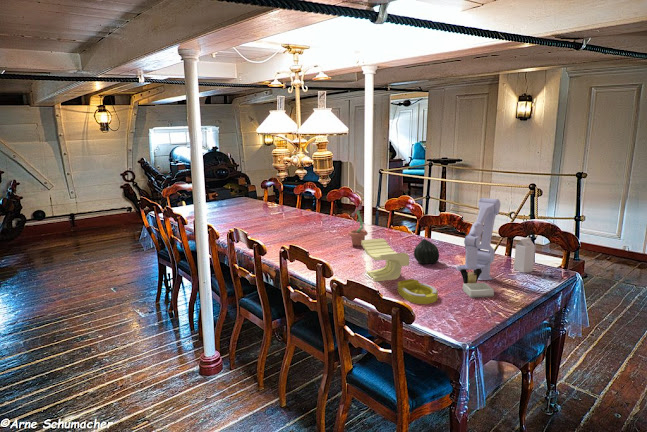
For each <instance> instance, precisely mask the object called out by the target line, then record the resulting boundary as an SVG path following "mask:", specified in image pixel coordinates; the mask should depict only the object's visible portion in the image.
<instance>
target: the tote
mask: <svg viewBox="0 0 647 432" xmlns="http://www.w3.org/2000/svg"><path fill="white" fill-rule="evenodd" d="M462 291H463V292H464V293H465V294H466V295H467V296H468V297H469V298H489V297H491V298H492V297H495V289H494V288H492V287H491V285H489V284H487V283H486V282H477V283H468V284H464V283H462Z"/></svg>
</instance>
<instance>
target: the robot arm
mask: <svg viewBox="0 0 647 432" xmlns="http://www.w3.org/2000/svg"><path fill="white" fill-rule="evenodd" d="M477 203H478V210H479V211H478V214H477V218H476V221H475V222H473V223H472V225H471V227H470V229H469V231H468V232H469V233H468V234H467V235H466V236H465V237H464V242H463V243H464V249H465V262H464V263H465V264H463V265H462V264H461V265H456V271H457V272H460V274H461V277H462V281H463V284H464V283H465V284H466V283H467V274H468V272H469V271H471V270H472V272H474V273H475V274H476V275H477V277H476V283H478V281H486V280H487V281H488V280H490V281H491V280H493V277H492V276H491V275H490V273H491V264H492V263H494V261H495V258H496V257H495V249H494V247H492V245H491V242H492V236H493V231H494V225H495V220H496V216H497V215H499V213H500V209H501V201H500V199H499V198H487V197H480V198H479V199H478V202H477Z"/></svg>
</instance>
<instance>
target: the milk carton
mask: <svg viewBox="0 0 647 432" xmlns="http://www.w3.org/2000/svg"><path fill="white" fill-rule="evenodd" d="M514 248H515V250H514V251H515V252H514V262H513V270H515V271H517V272H518V271H519V272H521V273H523V274H525V273H529V272H530V273H531V272H533V271H534V263H535V262H534V261H535V251H536V245H535V244H534V243H533V241H532V238H531V237H526V238H521V239H520V241H519V242H517V243H516V244H515V247H514Z"/></svg>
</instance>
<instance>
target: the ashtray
mask: <svg viewBox="0 0 647 432" xmlns="http://www.w3.org/2000/svg"><path fill="white" fill-rule="evenodd" d="M397 292H398V294H399V295H400V296H401V297H402V298H403V299H404V300H406V301H407V302H410V303H413V304H418V305H419V304H420V305H428V304H433V303H436V302H437V301H438V300H439V299H438V297H439V295H438V294H439V291H438V289H437V288H436V287H435V286H432V285H431V284H430V285H429V284H427V283H423V282H422V283H421V282H419V280H418V279H413V278H408V279H403V280H400V281H398V282H397Z"/></svg>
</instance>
